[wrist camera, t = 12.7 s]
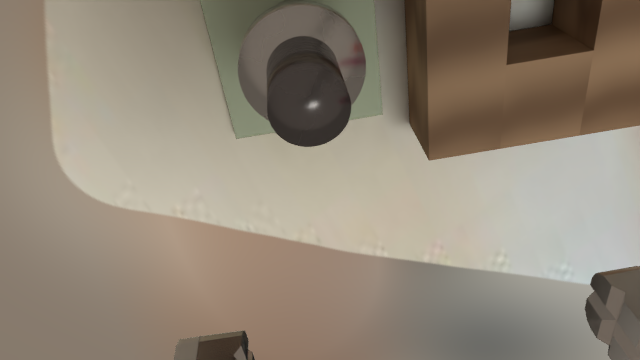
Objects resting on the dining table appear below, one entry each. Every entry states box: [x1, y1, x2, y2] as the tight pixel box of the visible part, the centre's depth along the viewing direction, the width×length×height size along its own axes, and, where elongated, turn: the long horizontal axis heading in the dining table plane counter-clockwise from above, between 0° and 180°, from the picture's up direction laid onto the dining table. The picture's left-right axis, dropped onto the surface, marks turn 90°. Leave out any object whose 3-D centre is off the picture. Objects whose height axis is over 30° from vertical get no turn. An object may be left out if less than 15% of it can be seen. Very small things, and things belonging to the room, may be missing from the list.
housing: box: [405, 0, 640, 160], centre depth 29 cm, size 16×14×5 cm
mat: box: [200, 0, 383, 139], centre depth 31 cm, size 13×10×1 cm
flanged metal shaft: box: [238, 0, 366, 147], centre depth 26 cm, size 6×6×11 cm
